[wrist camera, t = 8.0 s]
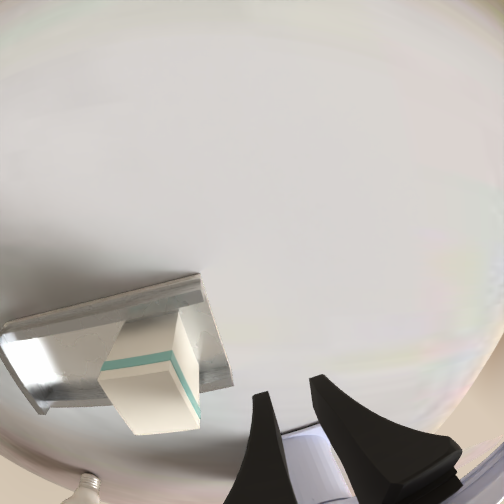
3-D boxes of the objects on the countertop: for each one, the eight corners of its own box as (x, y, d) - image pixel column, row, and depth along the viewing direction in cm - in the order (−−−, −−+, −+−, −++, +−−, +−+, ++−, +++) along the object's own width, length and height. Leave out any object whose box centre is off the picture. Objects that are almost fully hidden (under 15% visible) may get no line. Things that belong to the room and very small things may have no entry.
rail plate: (231, 369, 20) (236, 397, 17) (50, 394, 19) (38, 415, 15) (200, 273, 18) (199, 293, 15) (7, 321, 16) (-12, 339, 13)
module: (199, 366, 19) (200, 428, 13) (147, 375, 18) (135, 436, 13) (178, 311, 17) (169, 369, 12) (122, 323, 17) (95, 379, 11)
